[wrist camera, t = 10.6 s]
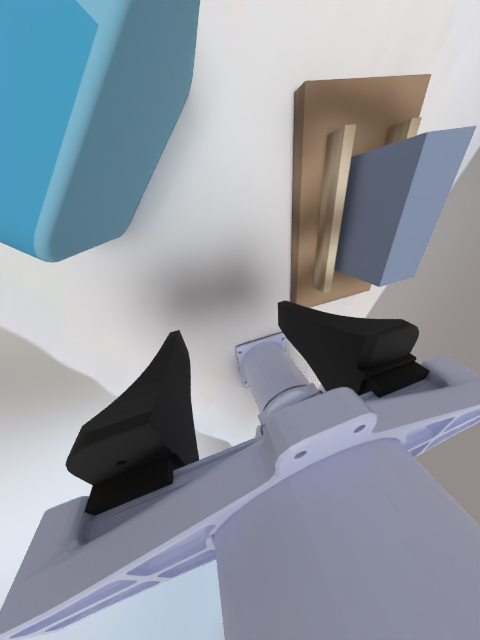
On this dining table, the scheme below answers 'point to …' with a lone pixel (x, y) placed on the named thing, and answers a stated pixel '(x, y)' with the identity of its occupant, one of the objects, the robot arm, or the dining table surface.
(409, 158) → the slate blue book
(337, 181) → the shelf board
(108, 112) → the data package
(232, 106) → the dining table surface
